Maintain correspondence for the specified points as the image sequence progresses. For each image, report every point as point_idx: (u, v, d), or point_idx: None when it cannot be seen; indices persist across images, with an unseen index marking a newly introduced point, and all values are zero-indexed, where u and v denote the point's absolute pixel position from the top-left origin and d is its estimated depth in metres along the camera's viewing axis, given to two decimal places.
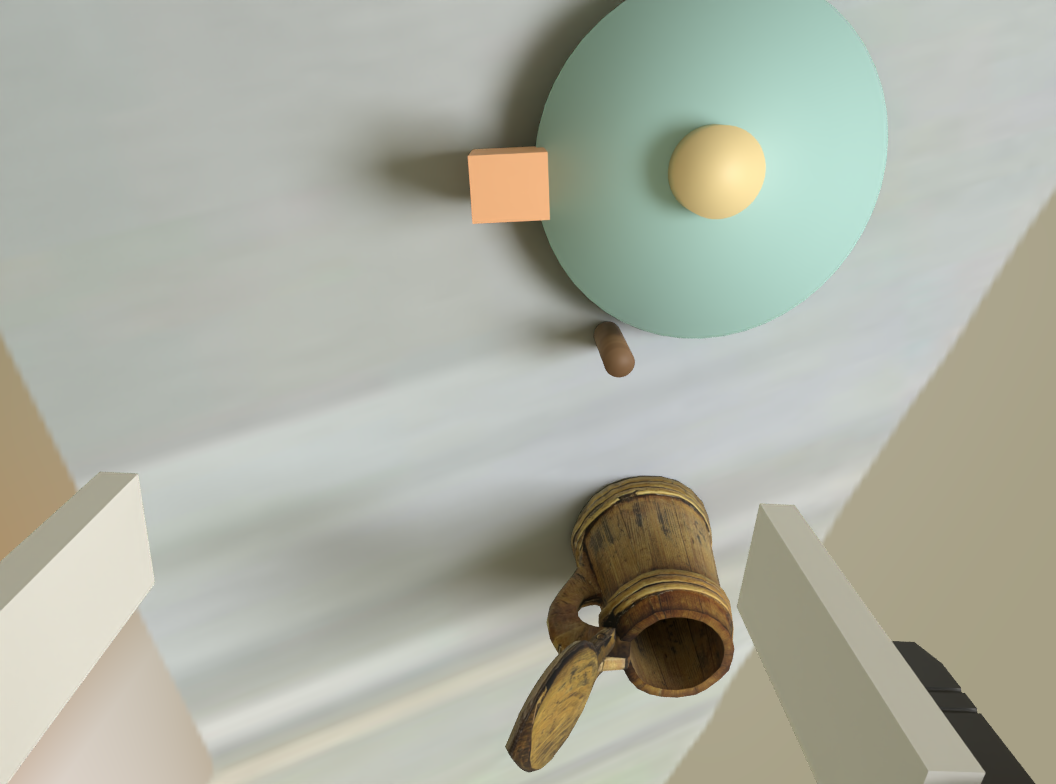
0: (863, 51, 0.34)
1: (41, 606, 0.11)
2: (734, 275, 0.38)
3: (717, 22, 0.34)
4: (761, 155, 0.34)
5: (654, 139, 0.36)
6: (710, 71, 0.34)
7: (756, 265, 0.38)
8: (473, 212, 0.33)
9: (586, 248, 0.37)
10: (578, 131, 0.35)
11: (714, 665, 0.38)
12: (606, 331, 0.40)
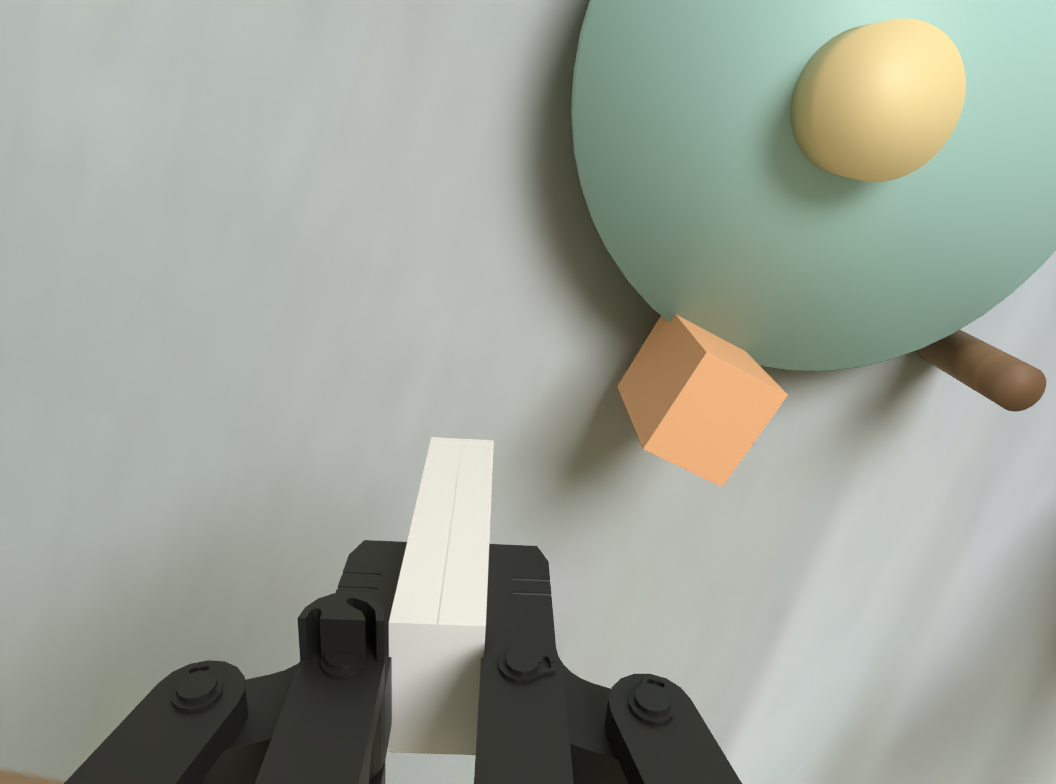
0: None
1: None
2: (1023, 142, 0.23)
3: None
4: (913, 24, 0.20)
5: (765, 164, 0.23)
6: (734, 34, 0.21)
7: (1038, 101, 0.22)
8: (710, 478, 0.23)
9: (828, 328, 0.25)
10: (687, 260, 0.24)
11: None
12: (942, 352, 0.26)
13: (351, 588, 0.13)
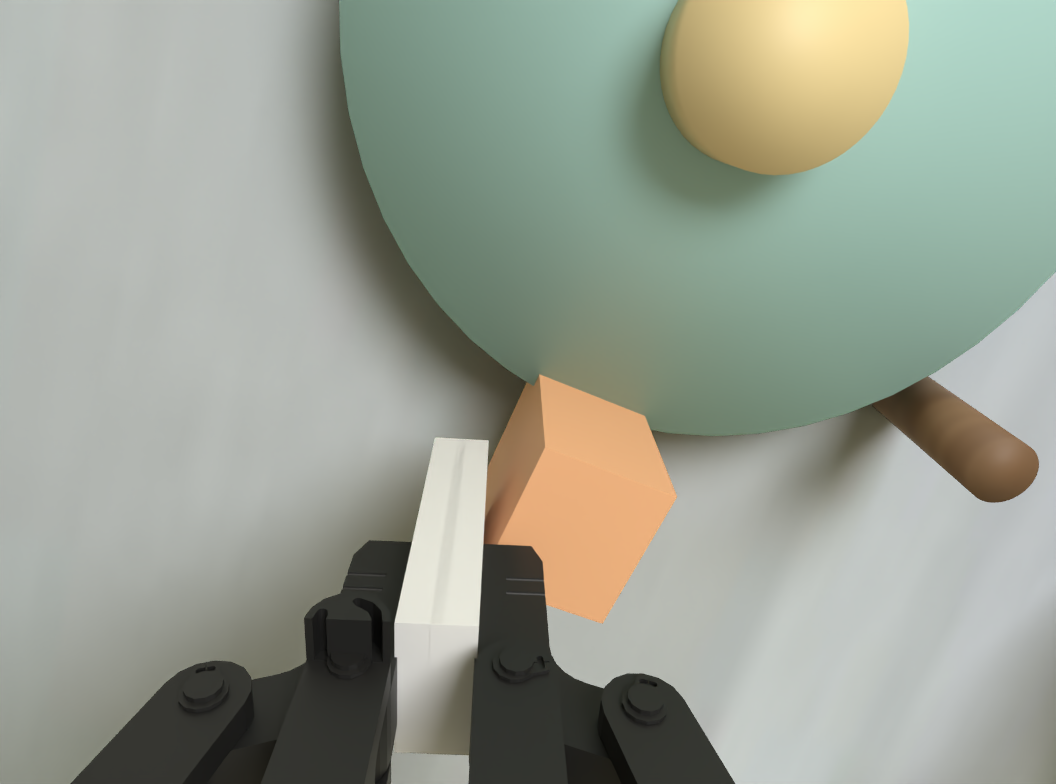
0: None
1: None
2: (1015, 95, 0.16)
3: None
4: None
5: (633, 159, 0.16)
6: None
7: (1032, 32, 0.15)
8: (583, 614, 0.16)
9: (757, 377, 0.18)
10: (544, 300, 0.17)
11: None
12: (900, 409, 0.19)
13: (356, 588, 0.13)
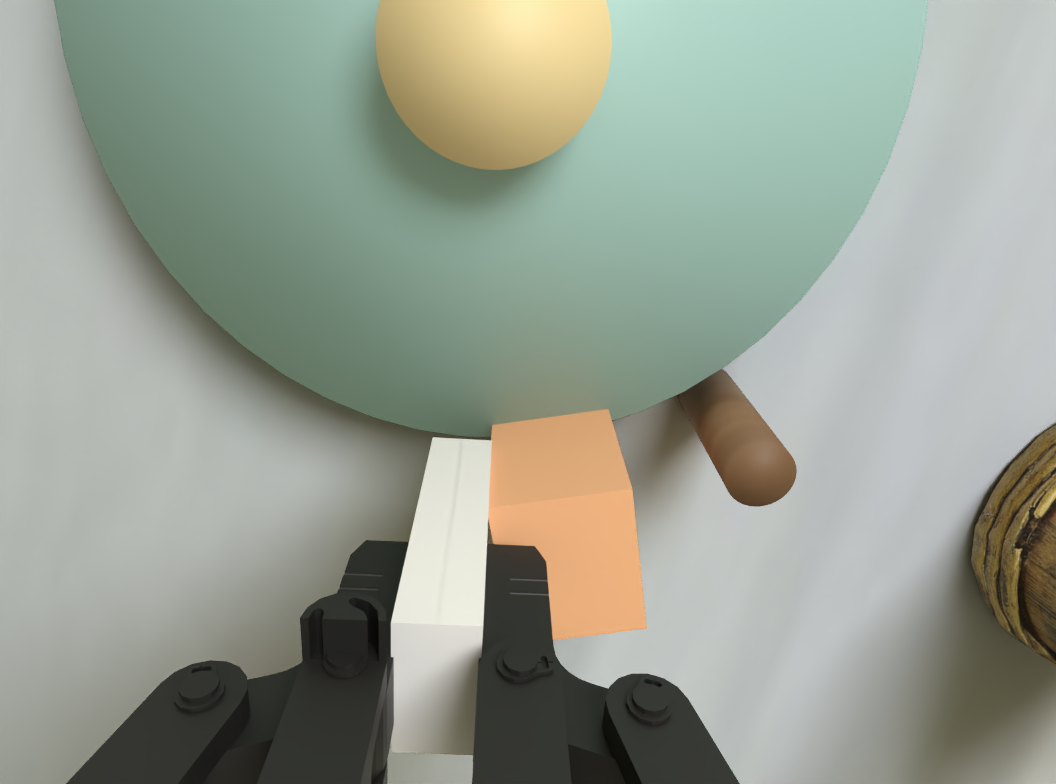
0: None
1: None
2: None
3: (185, 103, 0.15)
4: None
5: (446, 205, 0.16)
6: (285, 101, 0.15)
7: None
8: (623, 629, 0.16)
9: (688, 318, 0.17)
10: (453, 363, 0.17)
11: None
12: (693, 411, 0.19)
13: (353, 588, 0.13)
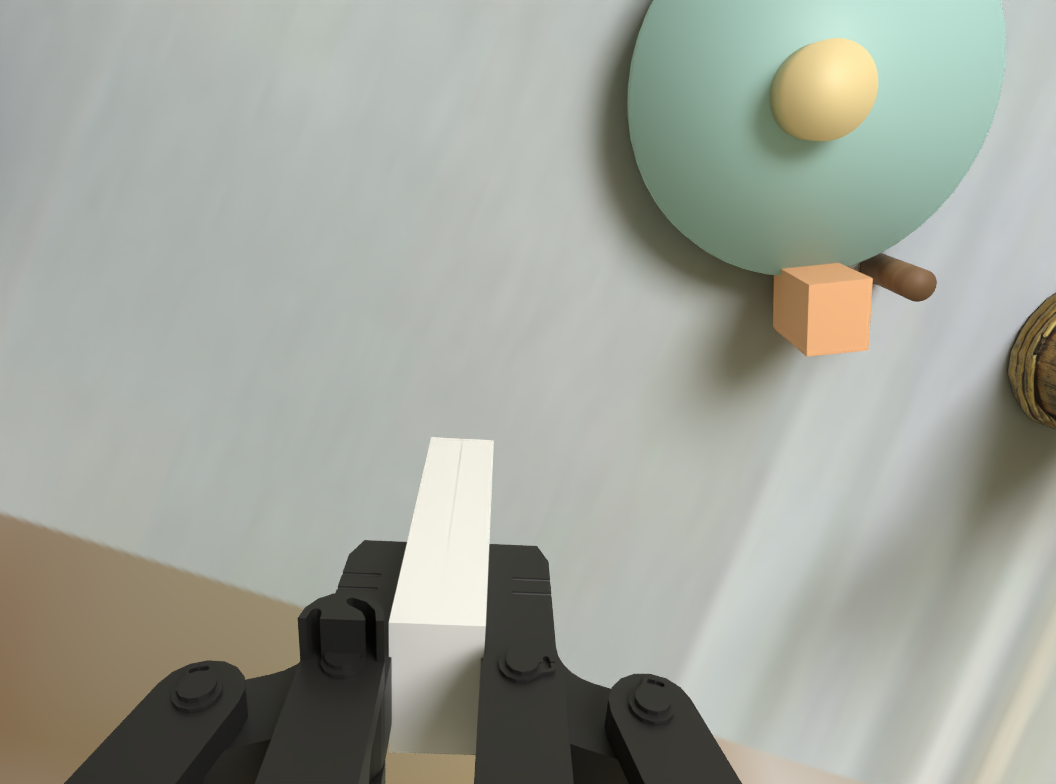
0: None
1: None
2: (933, 42, 0.34)
3: (676, 109, 0.35)
4: (815, 46, 0.32)
5: (781, 159, 0.36)
6: (720, 109, 0.35)
7: (925, 17, 0.33)
8: (858, 349, 0.35)
9: (882, 218, 0.37)
10: (769, 236, 0.37)
11: None
12: (875, 269, 0.38)
13: (351, 588, 0.13)
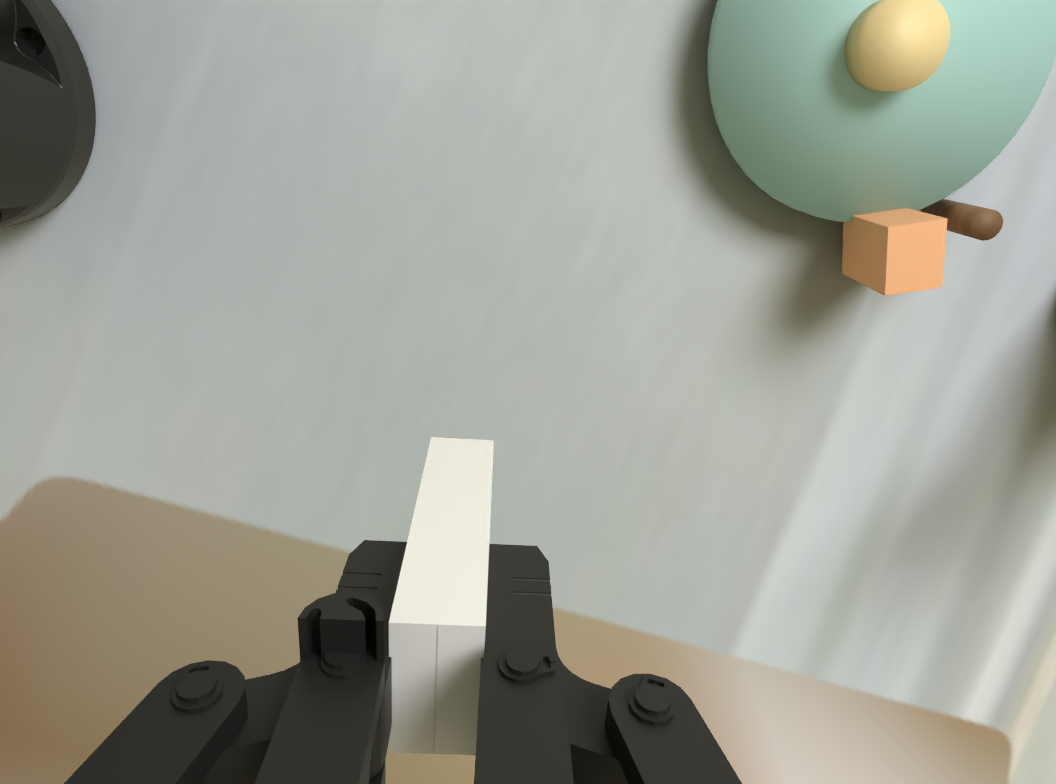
0: None
1: None
2: None
3: (757, 66, 0.37)
4: (892, 1, 0.34)
5: (854, 110, 0.38)
6: (797, 65, 0.37)
7: None
8: (932, 287, 0.37)
9: (948, 163, 0.39)
10: (842, 184, 0.39)
11: None
12: (939, 213, 0.41)
13: (351, 588, 0.13)
